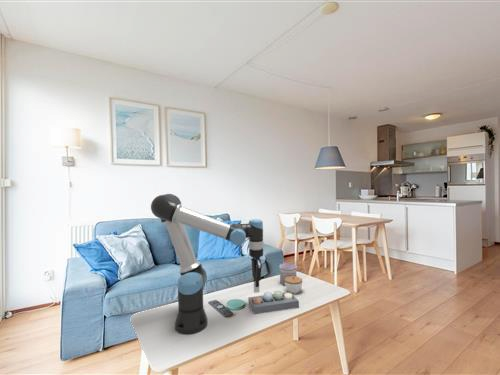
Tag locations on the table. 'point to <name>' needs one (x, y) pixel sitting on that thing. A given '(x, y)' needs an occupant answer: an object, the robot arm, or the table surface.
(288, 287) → the lidded jar
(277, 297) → the sage button
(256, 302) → the terracotta button
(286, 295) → the cream button
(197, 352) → the table surface
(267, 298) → the pale blue button
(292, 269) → the can
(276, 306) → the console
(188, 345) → the table surface
